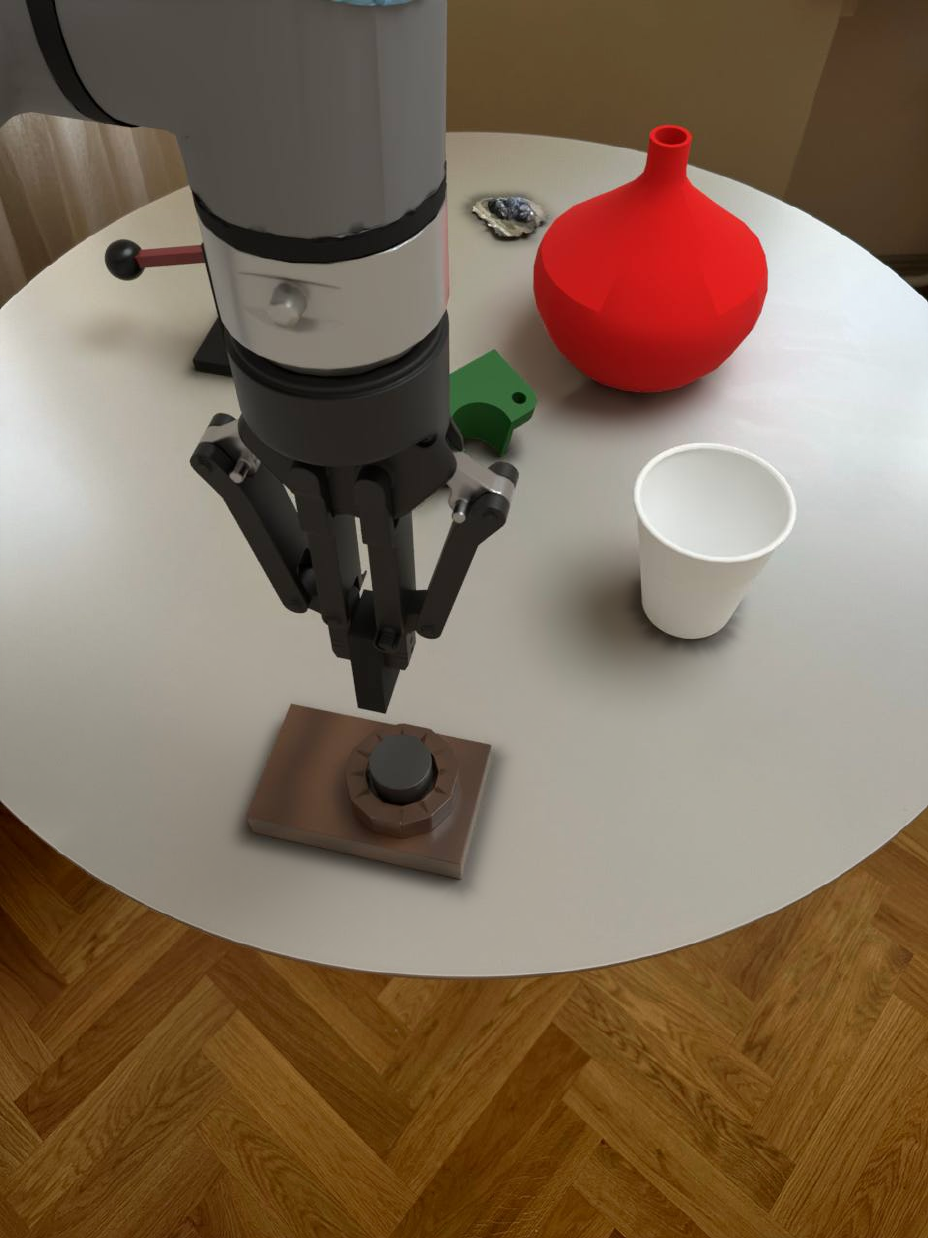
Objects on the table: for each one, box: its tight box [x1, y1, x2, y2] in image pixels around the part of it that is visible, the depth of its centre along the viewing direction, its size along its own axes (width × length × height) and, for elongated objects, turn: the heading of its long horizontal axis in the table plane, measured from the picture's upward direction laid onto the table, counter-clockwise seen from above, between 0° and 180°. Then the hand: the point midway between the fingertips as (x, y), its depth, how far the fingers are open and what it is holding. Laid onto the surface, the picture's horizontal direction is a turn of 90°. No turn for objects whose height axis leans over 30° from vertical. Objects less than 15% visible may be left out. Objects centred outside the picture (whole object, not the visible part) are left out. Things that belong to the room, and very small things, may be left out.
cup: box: [632, 442, 797, 640], centre depth 68 cm, size 10×10×11 cm
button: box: [369, 734, 433, 803], centre depth 60 cm, size 4×4×2 cm
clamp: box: [450, 348, 538, 458], centre depth 79 cm, size 12×6×9 cm, turn 124°
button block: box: [246, 703, 492, 880], centre depth 62 cm, size 13×8×4 cm, turn 76°
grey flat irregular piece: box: [471, 196, 551, 238], centre depth 99 cm, size 7×8×2 cm
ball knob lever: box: [104, 238, 205, 282], centre depth 83 cm, size 14×3×3 cm, turn 76°
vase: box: [532, 124, 769, 394], centre depth 81 cm, size 18×18×19 cm
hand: (379, 688), depth 53 cm, fingers closed
